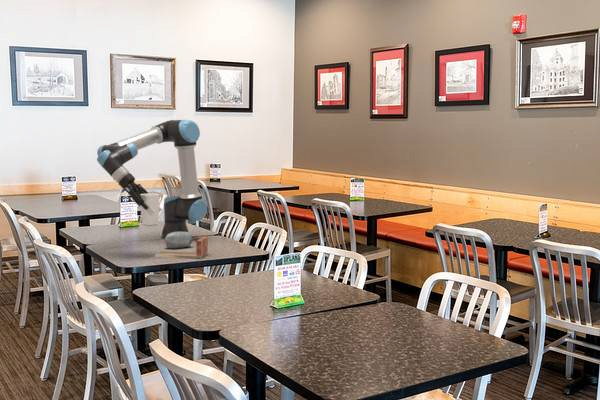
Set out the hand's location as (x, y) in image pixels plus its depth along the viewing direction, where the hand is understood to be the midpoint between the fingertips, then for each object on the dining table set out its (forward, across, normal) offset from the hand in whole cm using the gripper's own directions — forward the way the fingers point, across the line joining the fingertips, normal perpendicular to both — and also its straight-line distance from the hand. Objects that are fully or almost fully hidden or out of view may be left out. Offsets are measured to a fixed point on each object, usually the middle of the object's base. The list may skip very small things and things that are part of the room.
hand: (156, 212), depth 308 cm
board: (+23, -1, -6) cm, 24 cm away
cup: (+2, 0, -7) cm, 7 cm away
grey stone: (+17, -21, -12) cm, 30 cm away
